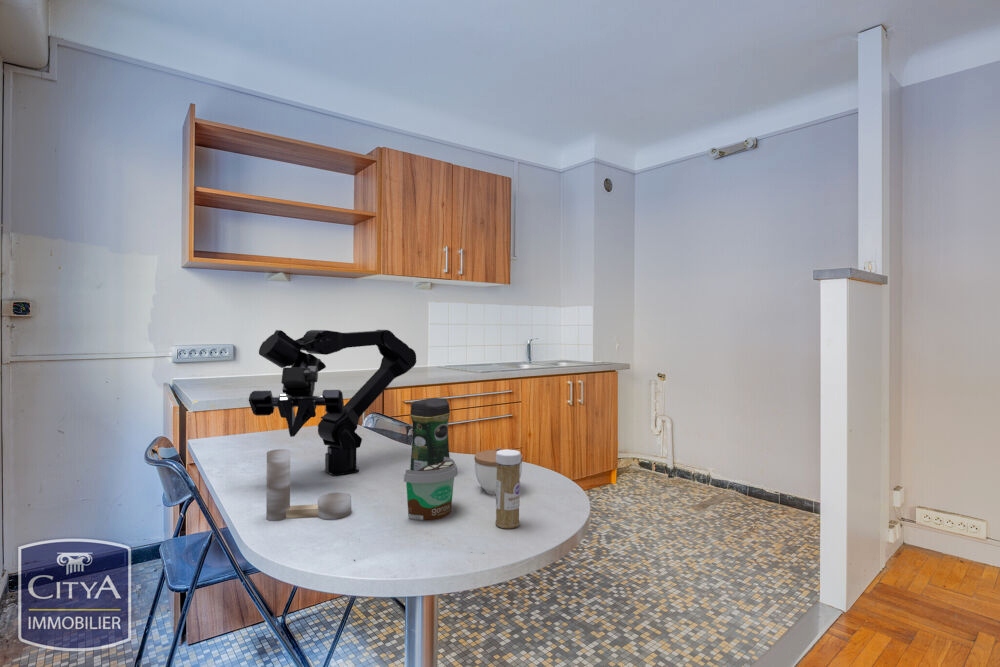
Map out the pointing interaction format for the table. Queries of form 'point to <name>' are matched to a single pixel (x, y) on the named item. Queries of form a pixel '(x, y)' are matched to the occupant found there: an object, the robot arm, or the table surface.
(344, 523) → the table surface
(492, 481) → the lidded jar
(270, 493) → the crank handle
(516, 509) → the sprinkles bottle
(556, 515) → the table surface
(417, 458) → the coffee jar
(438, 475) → the food container
